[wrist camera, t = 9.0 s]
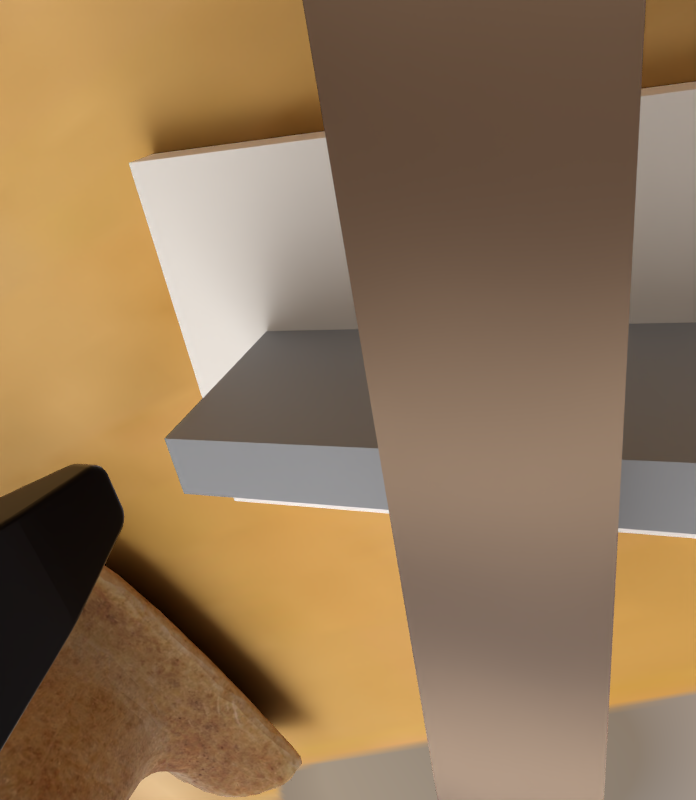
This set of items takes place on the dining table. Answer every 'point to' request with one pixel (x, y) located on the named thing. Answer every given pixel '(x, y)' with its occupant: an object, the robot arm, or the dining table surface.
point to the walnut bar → (494, 353)
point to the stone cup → (137, 713)
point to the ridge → (339, 337)
